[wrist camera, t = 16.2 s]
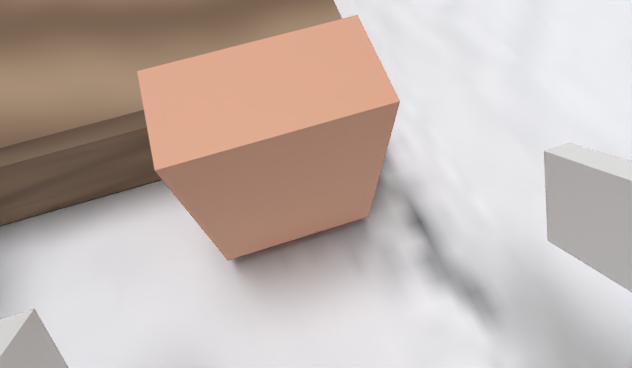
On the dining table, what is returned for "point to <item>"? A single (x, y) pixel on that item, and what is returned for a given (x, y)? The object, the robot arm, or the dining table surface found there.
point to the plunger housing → (104, 86)
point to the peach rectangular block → (272, 134)
